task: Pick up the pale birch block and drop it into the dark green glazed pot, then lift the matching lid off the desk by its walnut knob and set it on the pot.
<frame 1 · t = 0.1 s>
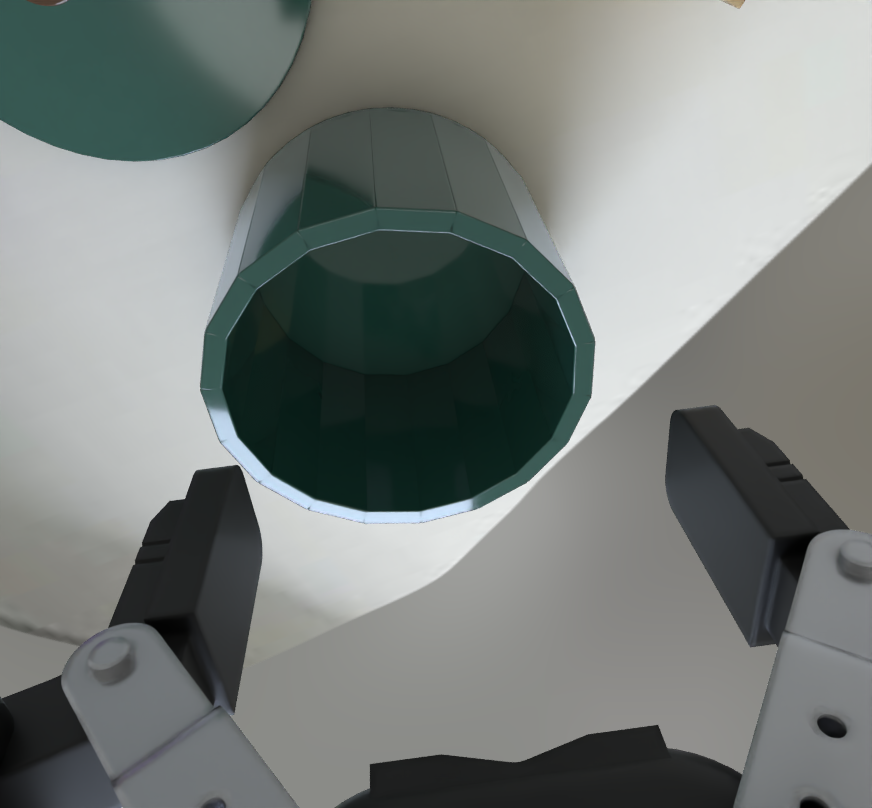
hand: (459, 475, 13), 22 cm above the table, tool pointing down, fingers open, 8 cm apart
pot: (390, 261, 35), on the table
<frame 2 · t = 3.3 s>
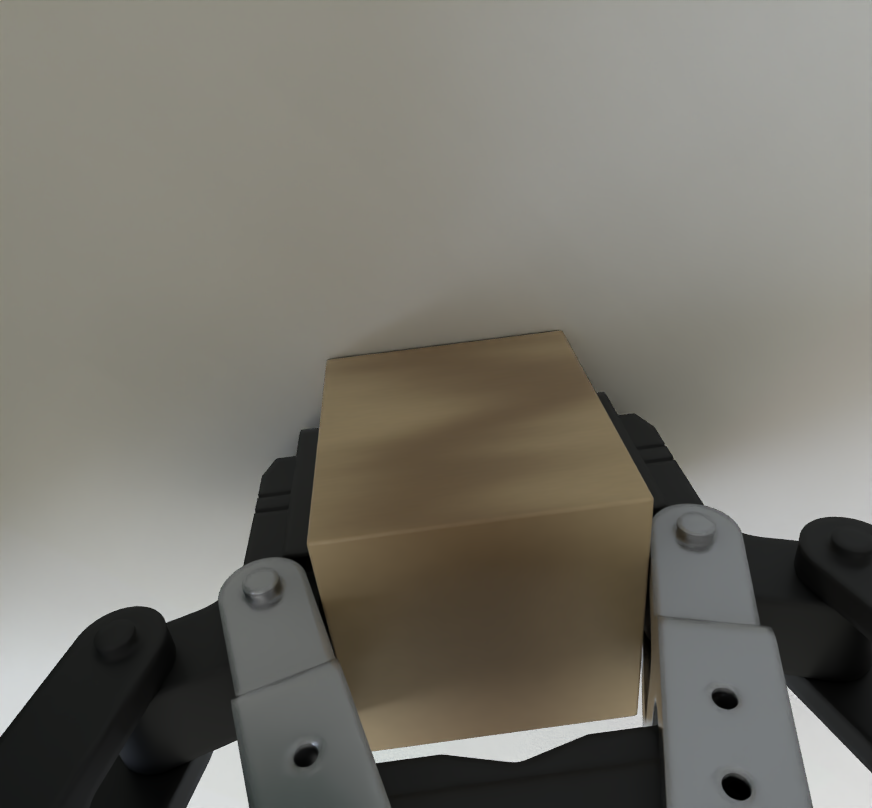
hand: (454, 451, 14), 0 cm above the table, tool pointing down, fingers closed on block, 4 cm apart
block: (454, 441, 14), on the table, touching gripper
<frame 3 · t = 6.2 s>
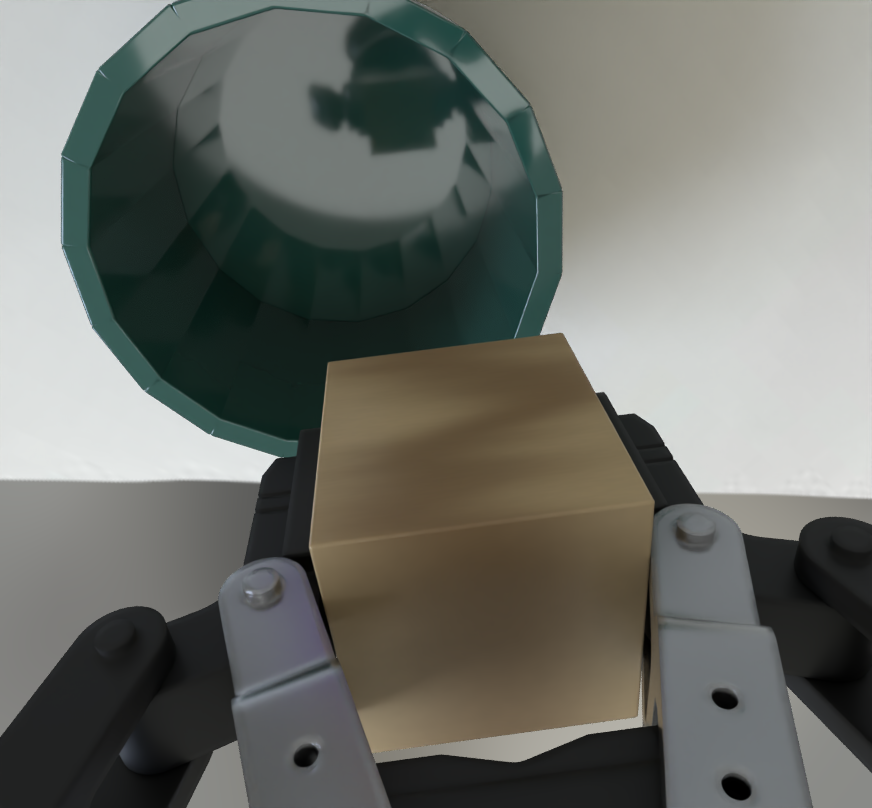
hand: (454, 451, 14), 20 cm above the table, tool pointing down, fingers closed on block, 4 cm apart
pot: (336, 174, 30), on the table
block: (455, 443, 14), point 19 cm above the table, touching gripper
when the fingers open (8 cm above the table, at t = 9.5 s): block drops 7 cm, resting on pot.
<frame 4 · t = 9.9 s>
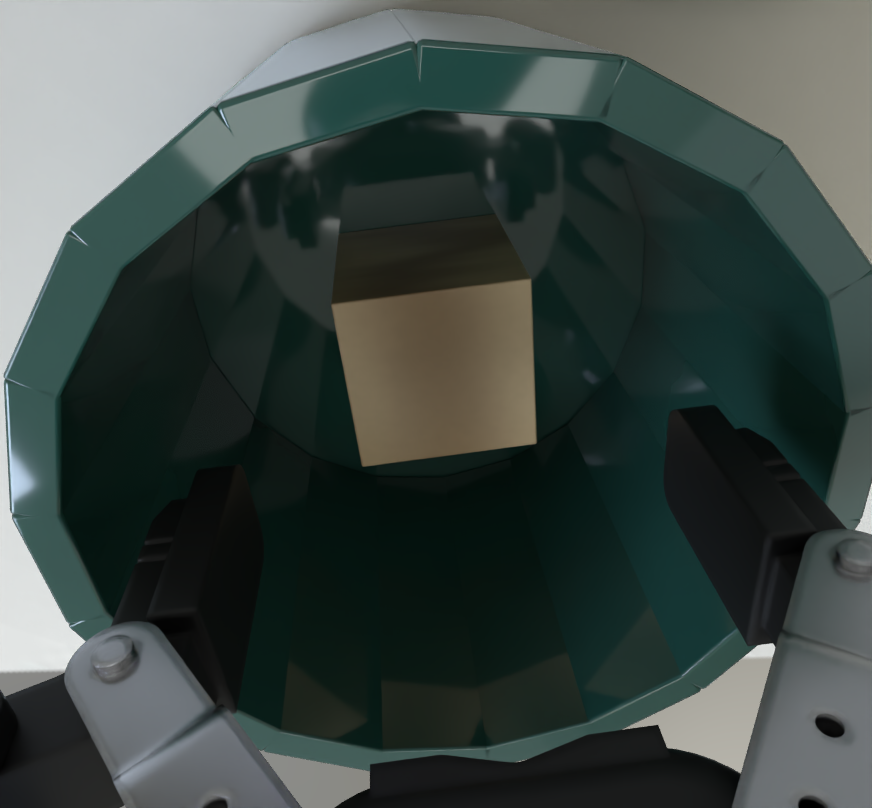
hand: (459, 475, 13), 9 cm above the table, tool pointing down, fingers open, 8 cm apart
pot: (422, 290, 21), on the table
block: (425, 297, 21), resting on pot
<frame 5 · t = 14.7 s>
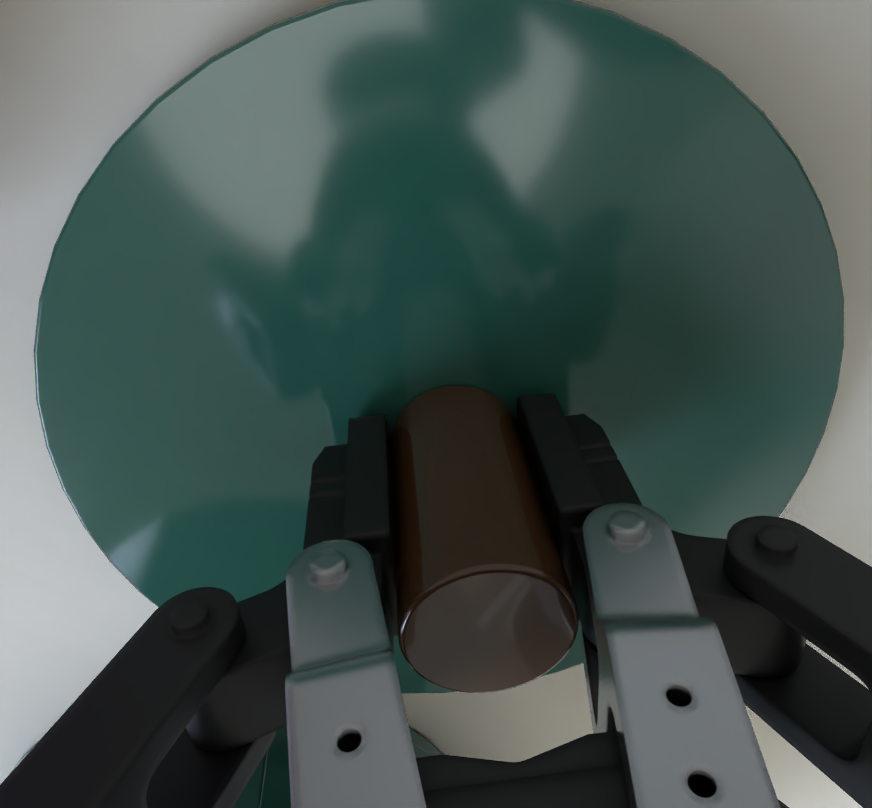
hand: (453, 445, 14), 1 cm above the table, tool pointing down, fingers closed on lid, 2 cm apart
lid: (450, 423, 15), point 1 cm above the table, touching gripper
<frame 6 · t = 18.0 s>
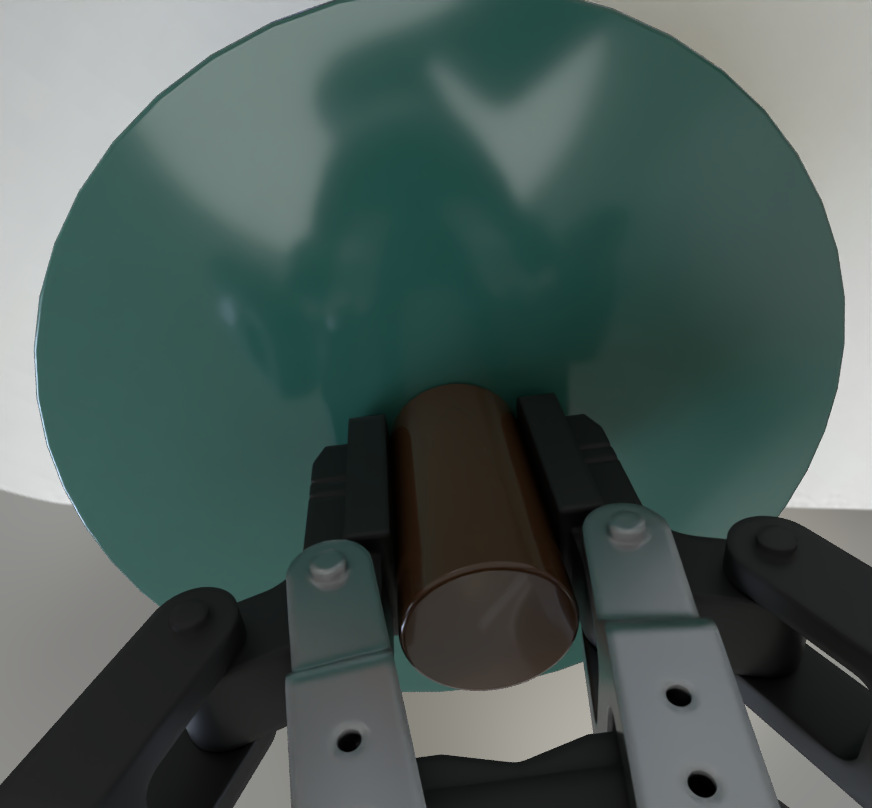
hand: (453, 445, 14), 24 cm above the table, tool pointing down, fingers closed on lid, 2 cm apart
lid: (451, 421, 15), point 23 cm above the table, touching gripper
when the fingers open (11 cm above the table, at t = 21.3 s): lid stays where it is, resting on pot.
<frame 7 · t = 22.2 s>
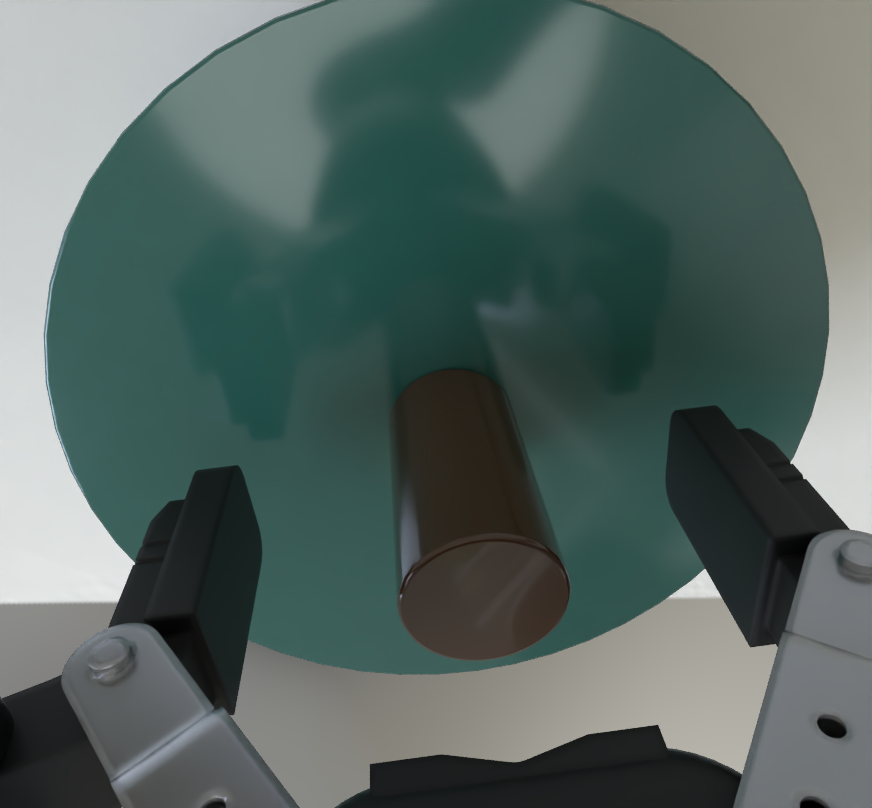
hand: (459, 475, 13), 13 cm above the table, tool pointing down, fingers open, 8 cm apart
lid: (448, 407, 15), point 10 cm above the table, touching pot
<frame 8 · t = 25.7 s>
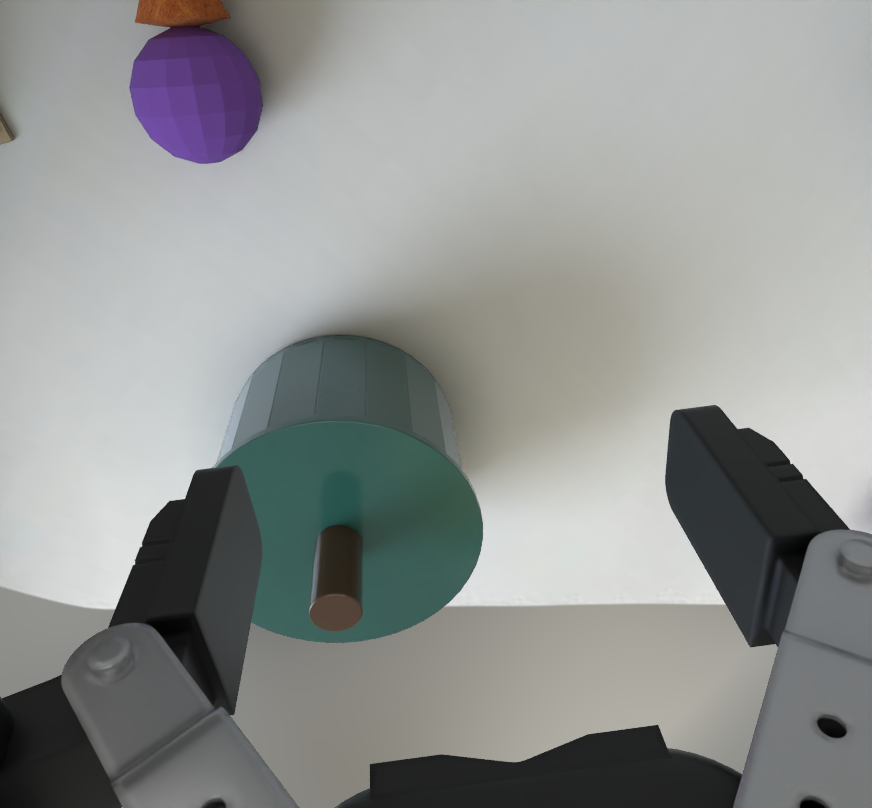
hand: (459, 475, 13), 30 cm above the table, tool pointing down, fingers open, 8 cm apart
pot: (344, 432, 48), on the table
lid: (339, 535, 39), point 10 cm above the table, touching pot
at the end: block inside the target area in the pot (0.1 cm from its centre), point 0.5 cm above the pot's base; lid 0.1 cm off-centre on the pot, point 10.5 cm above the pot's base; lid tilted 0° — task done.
